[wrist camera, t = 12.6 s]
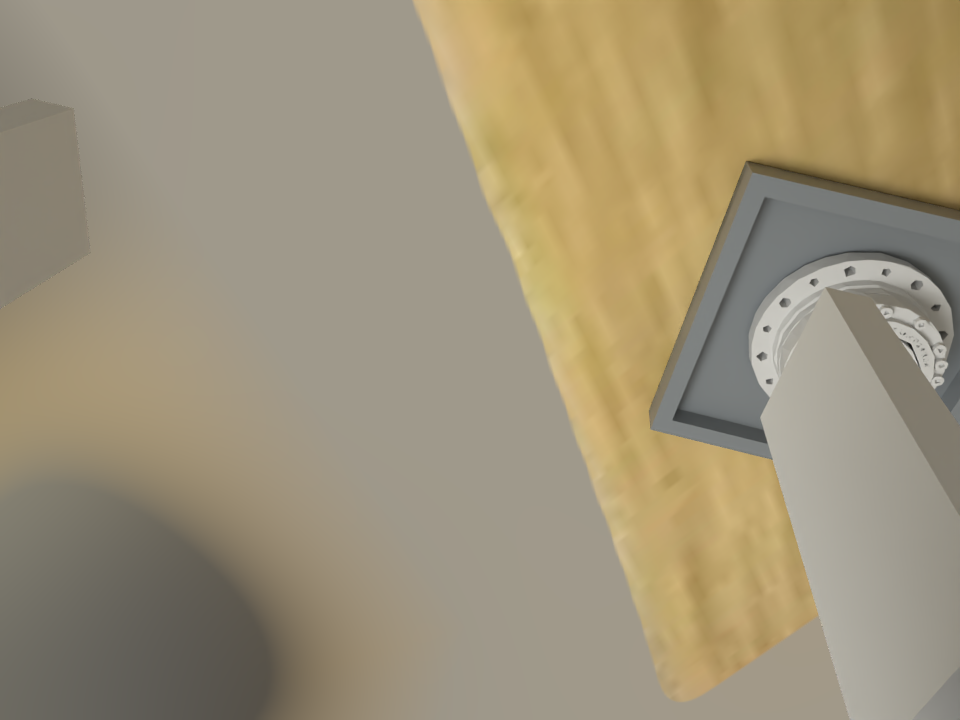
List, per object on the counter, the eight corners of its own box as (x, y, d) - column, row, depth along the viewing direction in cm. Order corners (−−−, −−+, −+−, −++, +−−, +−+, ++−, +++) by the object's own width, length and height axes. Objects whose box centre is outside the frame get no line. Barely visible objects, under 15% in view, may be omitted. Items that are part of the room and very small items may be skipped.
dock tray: (745, 161, 36) (752, 172, 35) (1062, 234, 36) (1084, 249, 34) (649, 410, 45) (650, 429, 43) (903, 473, 44) (914, 494, 43)
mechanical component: (937, 398, 41) (950, 234, 36) (969, 446, 37) (989, 269, 32) (752, 416, 43) (741, 265, 39) (765, 462, 40) (755, 301, 35)
